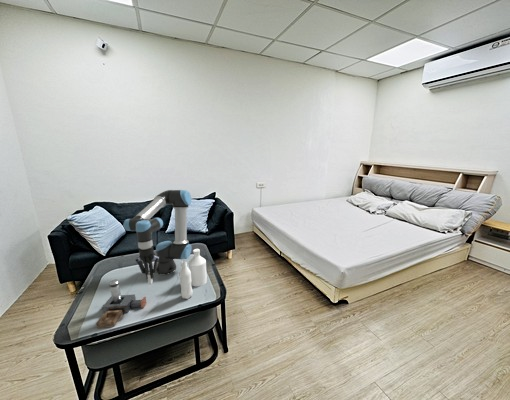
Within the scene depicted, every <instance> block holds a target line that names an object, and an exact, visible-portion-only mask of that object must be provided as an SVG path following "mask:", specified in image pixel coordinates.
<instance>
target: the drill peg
mask: <svg viewBox="0 0 510 400" xmlns="http://www.w3.org/2000/svg"><path fill="white" fill-rule="evenodd" d="M108 285H109V289H110V295H111V296H112V301H113V304H120V303H121V302H122V298H121V295H122V293H121V289H120V282H119V279H112V280H110V281H109V283H108Z"/></svg>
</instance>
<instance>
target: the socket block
mask: <svg viewBox="0 0 510 400" xmlns="http://www.w3.org/2000/svg"><path fill="white" fill-rule="evenodd" d="M121 298H122V302H121V303H120V304H113V301H112V295H111V296H110V297H109V299H107V301H105V303H104V304H103V305H102V306H101V309H102V315H103V314H104V313H105V312H106V311H114V310H122V312H123V314H126V313H127V314H128V313H129V312H131V309H132V308H130V303H131V301H132V300H137V298H136V294H125V295H124V294H121Z"/></svg>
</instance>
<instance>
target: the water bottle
mask: <svg viewBox="0 0 510 400" xmlns="http://www.w3.org/2000/svg"><path fill="white" fill-rule="evenodd" d="M180 267H181V269H180V271H179V273H178V274H179V284H180V288H181V289H180V296H181V298H182V299H186V300H188V299H190V298H191V297H192V296H193V293H194V292H193V287H192V285H191V281H192V280H191V271H190V270H189V266H188V262H187V261H186V260H182V261H181V265H180Z"/></svg>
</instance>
